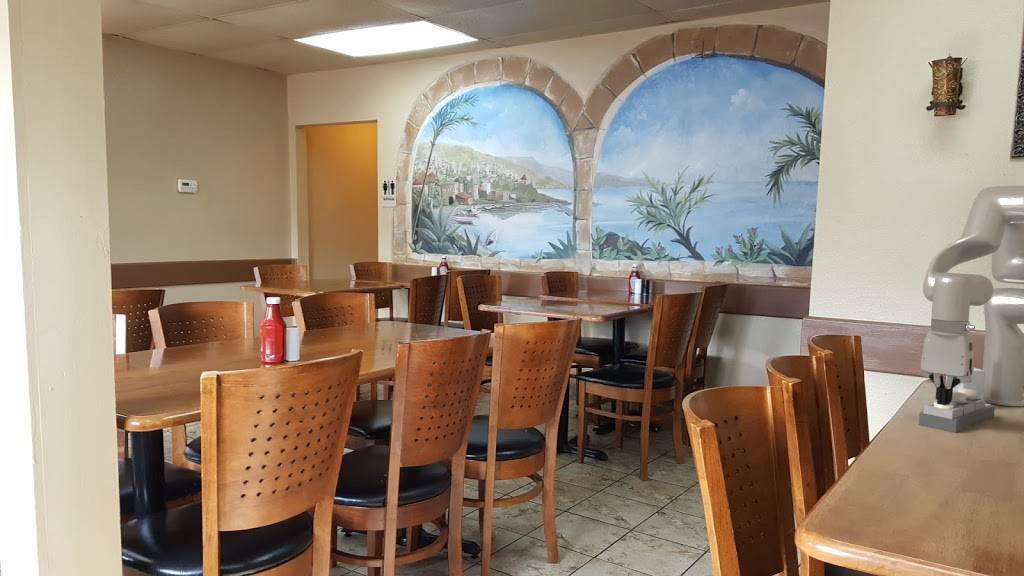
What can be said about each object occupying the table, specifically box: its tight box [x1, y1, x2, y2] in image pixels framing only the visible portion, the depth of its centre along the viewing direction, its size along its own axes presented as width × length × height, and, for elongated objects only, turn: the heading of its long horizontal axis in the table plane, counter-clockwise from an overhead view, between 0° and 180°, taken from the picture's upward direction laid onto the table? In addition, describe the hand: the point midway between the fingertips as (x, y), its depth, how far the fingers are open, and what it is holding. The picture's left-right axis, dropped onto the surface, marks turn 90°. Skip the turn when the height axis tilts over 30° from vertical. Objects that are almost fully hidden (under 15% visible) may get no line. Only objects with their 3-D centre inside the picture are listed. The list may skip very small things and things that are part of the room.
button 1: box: [933, 401, 954, 410], centre depth 168 cm, size 4×4×2 cm
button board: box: [918, 398, 996, 434], centre depth 174 cm, size 24×8×5 cm, turn 128°
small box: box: [945, 367, 985, 399], centre depth 190 cm, size 8×6×10 cm
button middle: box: [951, 392, 966, 403], centre depth 173 cm, size 4×4×2 cm
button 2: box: [958, 388, 977, 400], centre depth 177 cm, size 4×4×2 cm
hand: (943, 403), depth 168 cm, fingers closed
